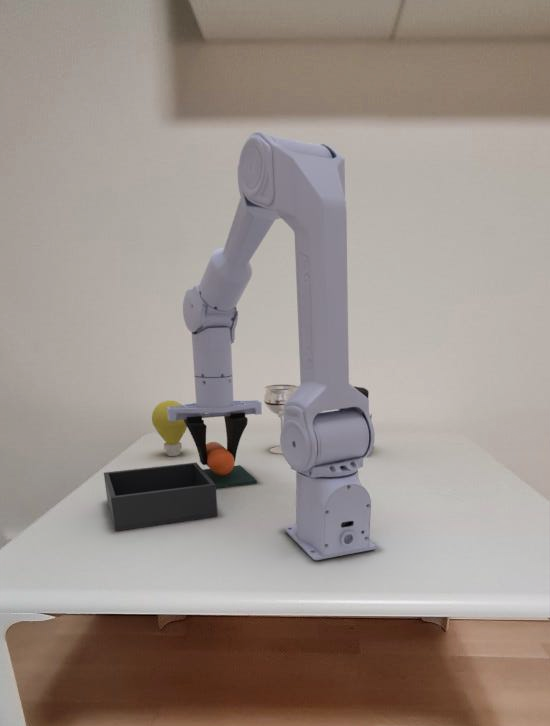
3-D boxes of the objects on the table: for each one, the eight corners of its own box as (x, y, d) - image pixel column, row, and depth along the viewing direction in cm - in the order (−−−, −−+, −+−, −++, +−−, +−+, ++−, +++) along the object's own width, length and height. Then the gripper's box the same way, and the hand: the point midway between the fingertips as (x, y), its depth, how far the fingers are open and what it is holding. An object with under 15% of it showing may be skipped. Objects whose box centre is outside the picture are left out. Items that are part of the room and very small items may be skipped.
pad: (257, 483, 86) (257, 480, 86) (194, 491, 82) (194, 488, 82) (240, 467, 94) (240, 465, 94) (182, 474, 90) (182, 471, 90)
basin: (217, 516, 73) (215, 484, 72) (115, 531, 68) (110, 497, 67) (198, 490, 83) (196, 462, 81) (107, 502, 78) (103, 472, 76)
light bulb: (164, 448, 105) (160, 397, 102) (197, 450, 104) (193, 398, 101) (148, 458, 99) (143, 403, 96) (183, 460, 98) (179, 404, 94)
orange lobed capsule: (238, 476, 84) (237, 451, 83) (213, 479, 83) (211, 454, 82) (222, 461, 92) (221, 438, 91) (199, 463, 91) (197, 440, 89)
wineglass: (294, 456, 101) (294, 390, 97) (260, 453, 103) (258, 389, 98) (304, 447, 107) (304, 385, 103) (271, 444, 109) (270, 383, 104)
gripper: (250, 370, 88) (253, 450, 93) (160, 374, 83) (167, 459, 88) (265, 375, 82) (267, 461, 87) (169, 380, 77) (176, 472, 82)
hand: (218, 461), depth 87 cm, fingers closed on orange lobed capsule, 4 cm apart
